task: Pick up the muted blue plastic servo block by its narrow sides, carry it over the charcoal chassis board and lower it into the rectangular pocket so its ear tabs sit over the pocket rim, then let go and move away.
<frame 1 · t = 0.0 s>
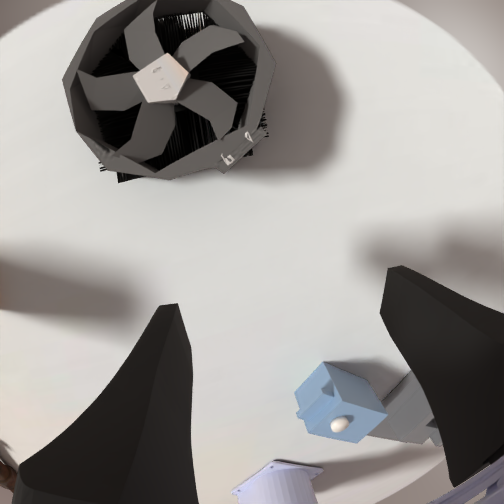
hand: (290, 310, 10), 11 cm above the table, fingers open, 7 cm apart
chassis board: (430, 396, 29), on the table
bolt: (0, 455, 27), on the table
servo block: (331, 386, 26), on the table
cpu cooler: (177, 95, 17), on the table
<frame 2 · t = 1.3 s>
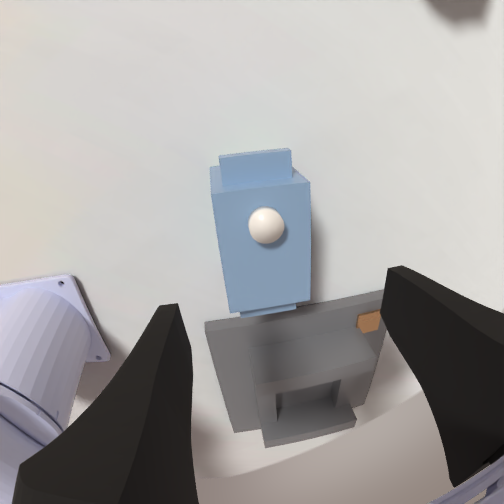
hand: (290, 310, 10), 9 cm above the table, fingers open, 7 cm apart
chassis board: (301, 371, 25), on the table
servo block: (251, 212, 18), on the table
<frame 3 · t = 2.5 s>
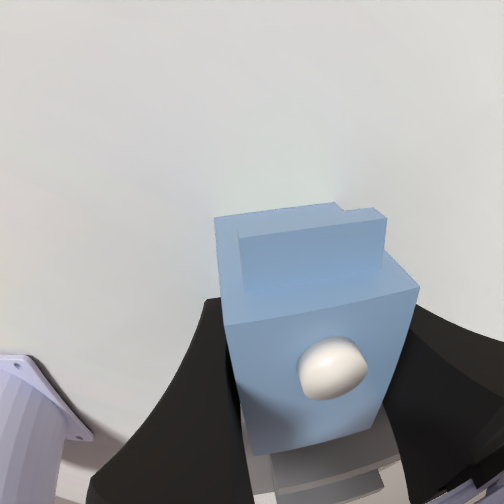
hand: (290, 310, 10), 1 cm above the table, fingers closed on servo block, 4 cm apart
chassis board: (325, 442, 19), on the table
servo block: (280, 286, 11), on the table, touching gripper
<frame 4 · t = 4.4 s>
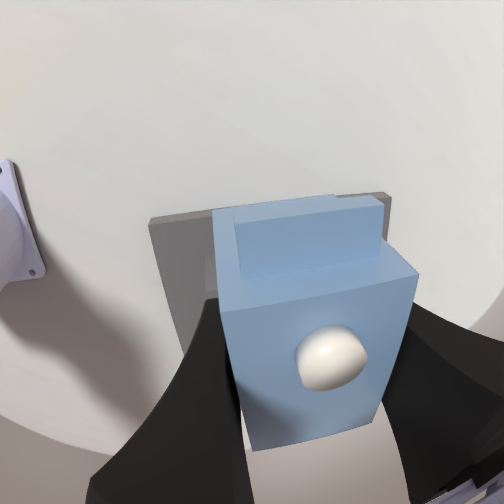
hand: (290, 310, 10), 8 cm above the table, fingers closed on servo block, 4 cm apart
chassis board: (279, 306, 21), on the table
servo block: (279, 279, 11), point 7 cm above the table, touching gripper
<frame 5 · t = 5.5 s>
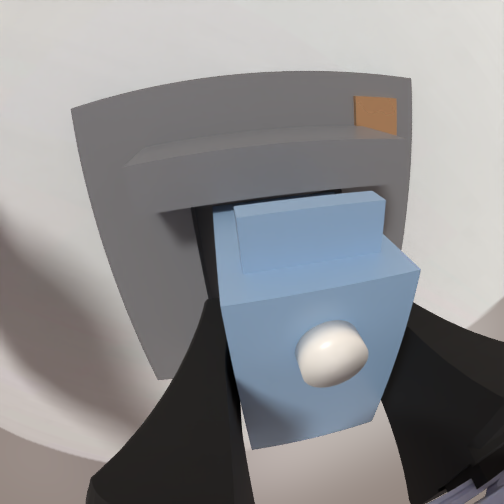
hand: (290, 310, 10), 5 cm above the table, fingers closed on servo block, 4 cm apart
chassis board: (263, 242, 14), on the table
servo block: (279, 276, 11), point 3 cm above the table, touching gripper
when the fingers open (3 cm above the table, at t = 6.2 s): servo block stays where it is, resting on chassis board.
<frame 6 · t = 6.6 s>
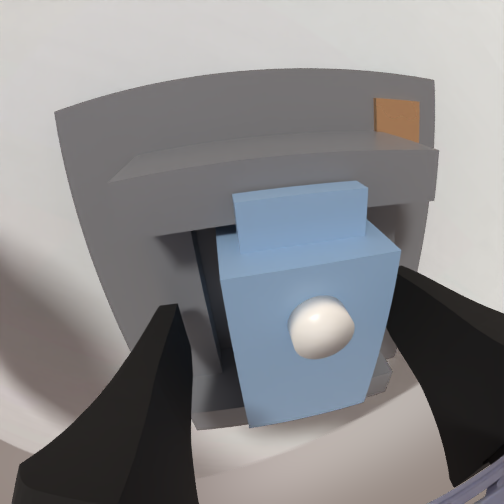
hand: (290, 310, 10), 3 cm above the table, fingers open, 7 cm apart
chassis board: (270, 259, 13), on the table
servo block: (275, 264, 12), point 1 cm above the table, touching chassis board
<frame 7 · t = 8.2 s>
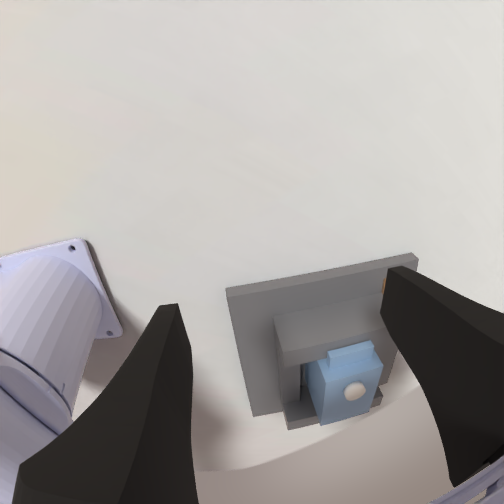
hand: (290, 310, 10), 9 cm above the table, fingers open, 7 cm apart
chassis board: (324, 345, 24), on the table
servo block: (329, 350, 23), point 1 cm above the table, touching chassis board
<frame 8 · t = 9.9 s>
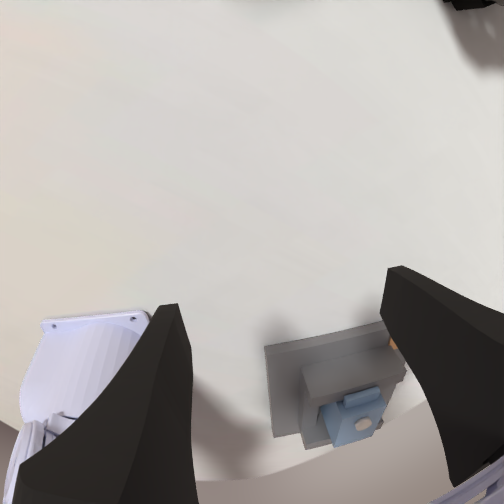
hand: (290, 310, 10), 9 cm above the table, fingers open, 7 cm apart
chassis board: (337, 382, 28), on the table
servo block: (341, 387, 27), point 1 cm above the table, touching chassis board
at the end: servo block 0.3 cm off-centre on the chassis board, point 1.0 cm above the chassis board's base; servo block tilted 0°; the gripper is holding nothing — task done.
